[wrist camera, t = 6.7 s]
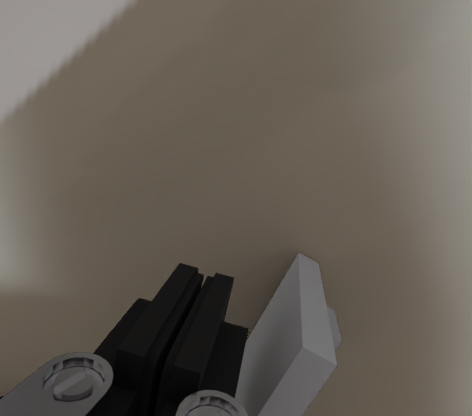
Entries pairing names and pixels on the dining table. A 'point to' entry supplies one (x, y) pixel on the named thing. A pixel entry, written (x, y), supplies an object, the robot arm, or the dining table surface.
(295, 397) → the side door
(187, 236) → the dining table surface
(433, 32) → the dining table surface
